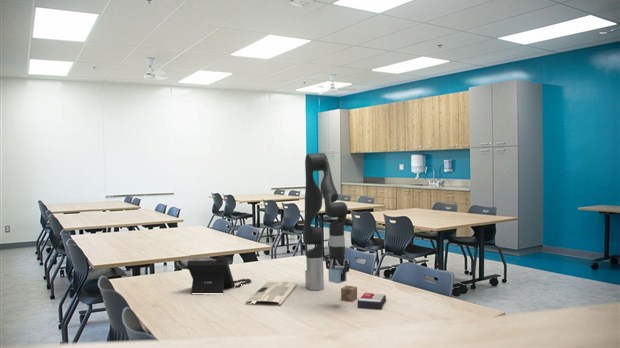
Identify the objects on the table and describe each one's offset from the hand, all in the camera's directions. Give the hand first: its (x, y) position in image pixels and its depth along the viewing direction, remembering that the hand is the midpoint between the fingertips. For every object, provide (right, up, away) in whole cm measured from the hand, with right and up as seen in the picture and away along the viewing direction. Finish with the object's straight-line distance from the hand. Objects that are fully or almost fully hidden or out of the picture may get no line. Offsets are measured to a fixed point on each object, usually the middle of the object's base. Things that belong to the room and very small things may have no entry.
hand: (337, 279), depth 213 cm
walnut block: (+6, -12, +11) cm, 18 cm away
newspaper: (-32, -14, +23) cm, 41 cm away
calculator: (+17, -13, +2) cm, 21 cm away
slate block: (0, -1, 0) cm, 1 cm away
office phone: (-63, -14, +40) cm, 75 cm away
